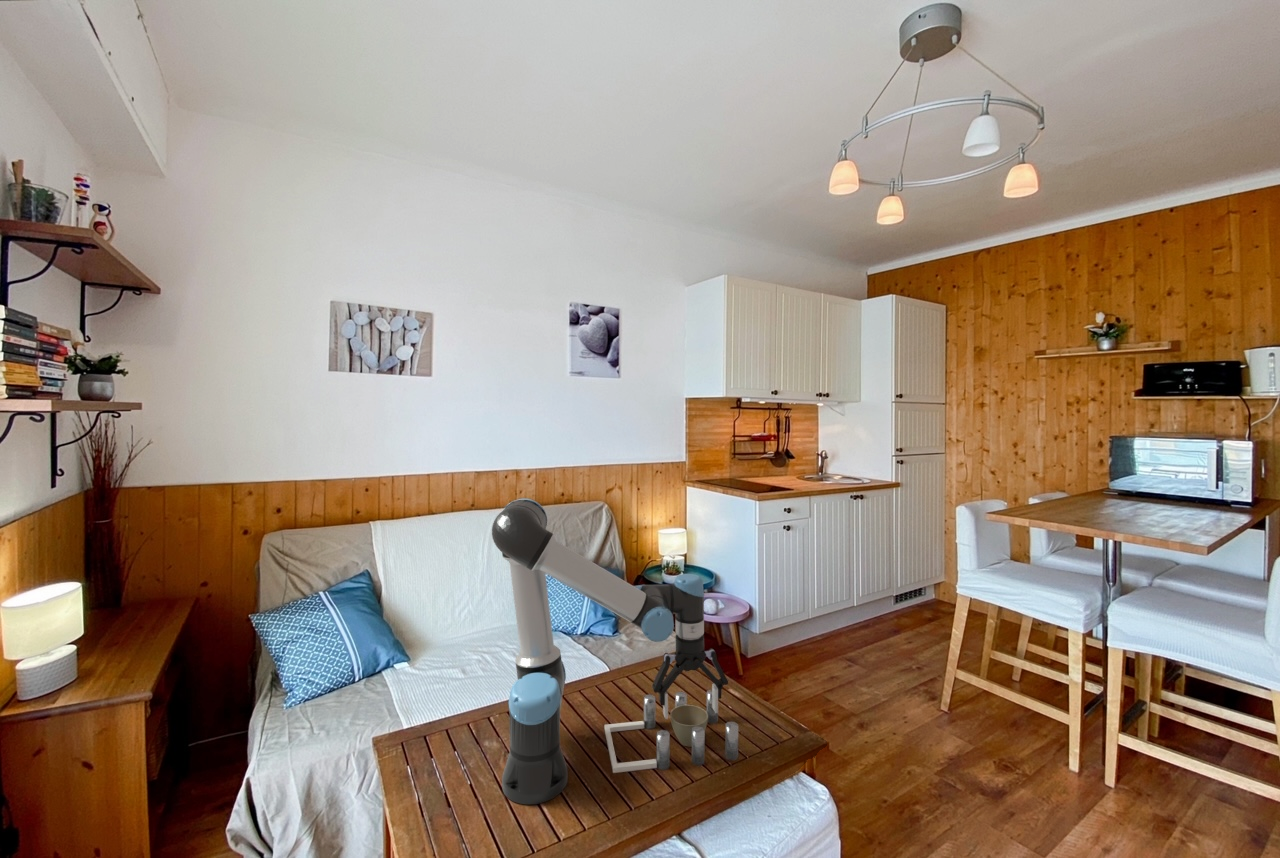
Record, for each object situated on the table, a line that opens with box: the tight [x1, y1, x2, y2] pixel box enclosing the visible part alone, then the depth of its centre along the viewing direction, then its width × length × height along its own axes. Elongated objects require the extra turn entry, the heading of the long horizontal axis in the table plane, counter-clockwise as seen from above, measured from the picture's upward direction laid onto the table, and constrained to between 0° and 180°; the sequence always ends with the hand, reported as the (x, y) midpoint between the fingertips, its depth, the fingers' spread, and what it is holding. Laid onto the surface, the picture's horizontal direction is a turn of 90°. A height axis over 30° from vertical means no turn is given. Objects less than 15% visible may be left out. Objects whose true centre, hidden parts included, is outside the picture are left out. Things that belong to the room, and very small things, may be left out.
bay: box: [604, 720, 658, 774], centre depth 141 cm, size 11×18×1 cm, turn 10°
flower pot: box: [669, 704, 708, 748], centre depth 144 cm, size 10×10×7 cm
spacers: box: [643, 689, 739, 771], centre depth 144 cm, size 21×20×8 cm
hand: (690, 713), depth 143 cm, fingers open, 13 cm apart
